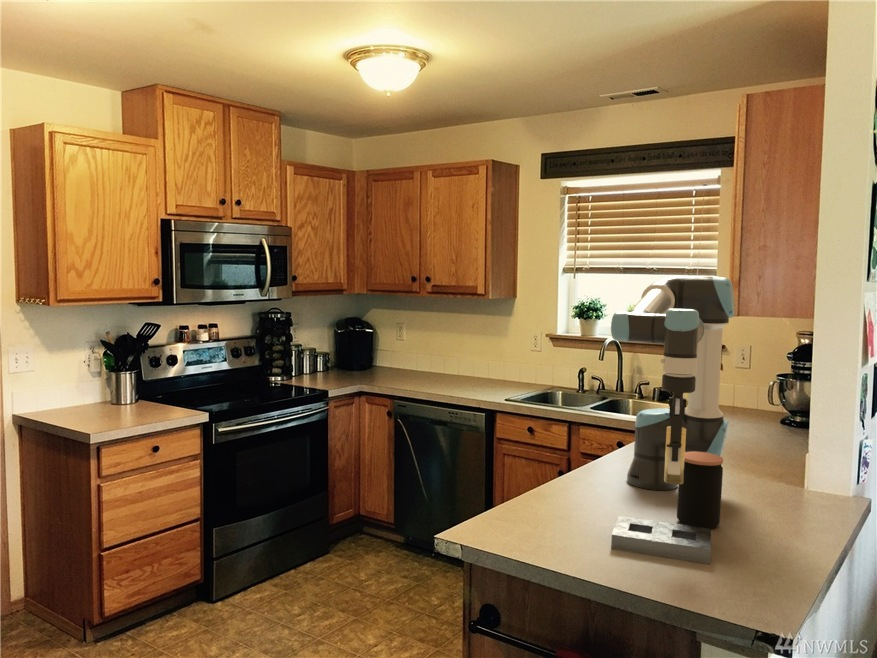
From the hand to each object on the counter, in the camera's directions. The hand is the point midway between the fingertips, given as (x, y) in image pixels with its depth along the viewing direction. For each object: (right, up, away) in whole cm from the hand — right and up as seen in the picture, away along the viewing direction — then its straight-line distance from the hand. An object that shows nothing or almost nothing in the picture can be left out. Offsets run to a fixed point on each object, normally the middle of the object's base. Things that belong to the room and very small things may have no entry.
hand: (674, 471), depth 171 cm
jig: (-2, -18, +2) cm, 19 cm away
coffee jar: (+12, -17, +18) cm, 28 cm away
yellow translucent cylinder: (0, -3, 0) cm, 3 cm away
